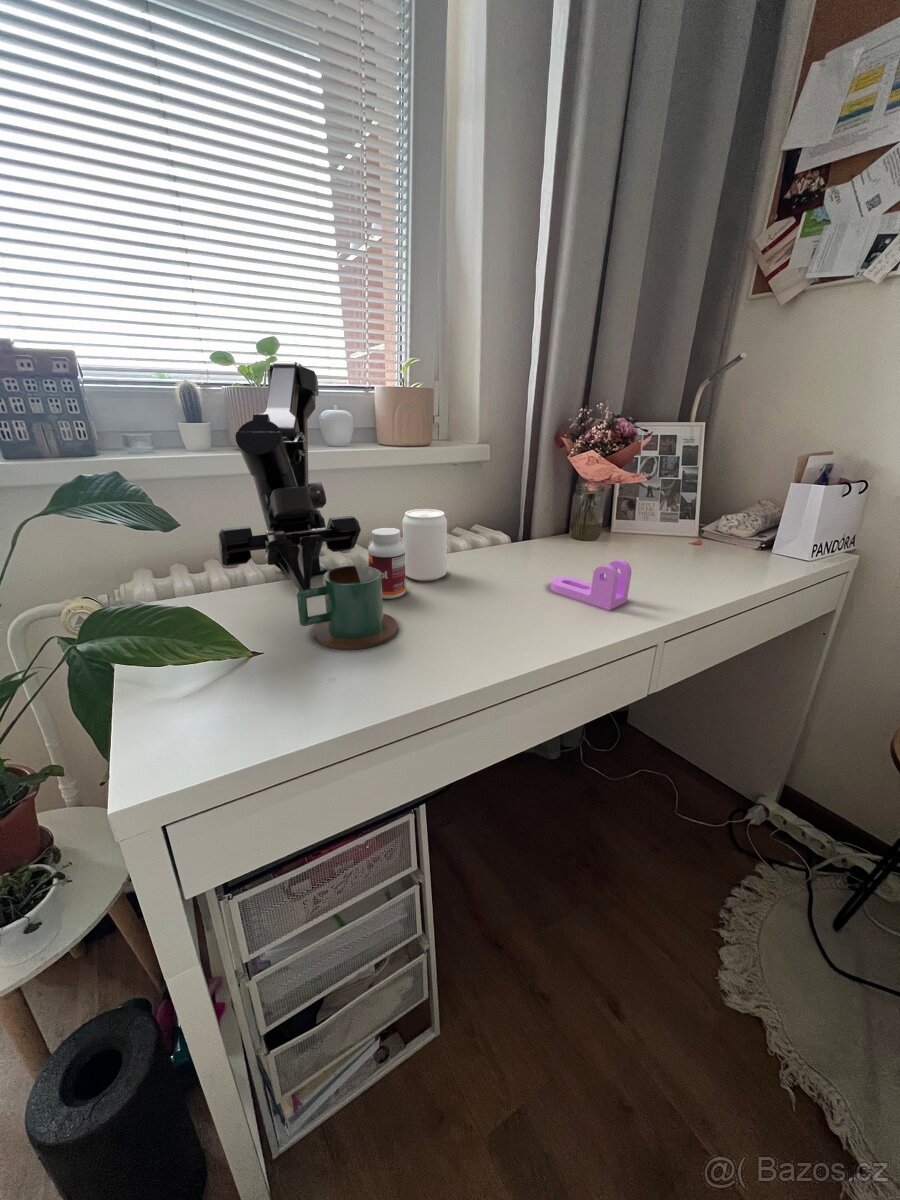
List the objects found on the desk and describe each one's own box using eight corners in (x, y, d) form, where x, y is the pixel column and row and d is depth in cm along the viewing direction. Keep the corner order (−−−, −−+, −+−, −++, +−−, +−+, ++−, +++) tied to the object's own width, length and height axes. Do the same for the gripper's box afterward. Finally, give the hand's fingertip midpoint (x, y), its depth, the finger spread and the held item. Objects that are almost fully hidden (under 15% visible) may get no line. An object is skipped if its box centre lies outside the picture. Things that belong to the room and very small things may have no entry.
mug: (371, 611, 78) (368, 562, 75) (392, 631, 72) (390, 578, 69) (294, 627, 72) (287, 574, 69) (309, 650, 66) (303, 593, 63)
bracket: (626, 601, 85) (633, 562, 82) (609, 610, 81) (615, 569, 79) (562, 581, 93) (566, 545, 91) (544, 588, 90) (547, 551, 87)
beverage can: (448, 569, 99) (449, 509, 95) (443, 583, 92) (444, 518, 87) (407, 567, 100) (406, 507, 95) (400, 581, 93) (398, 517, 88)
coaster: (297, 630, 73) (297, 627, 73) (363, 607, 81) (363, 604, 81) (347, 658, 65) (347, 654, 65) (414, 629, 74) (414, 626, 73)
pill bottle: (362, 593, 87) (358, 531, 83) (388, 584, 91) (386, 524, 87) (387, 602, 83) (384, 537, 79) (413, 592, 87) (412, 530, 83)
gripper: (207, 465, 62) (232, 576, 57) (352, 458, 71) (385, 554, 66) (211, 516, 71) (233, 614, 67) (339, 504, 80) (367, 591, 75)
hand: (306, 593), depth 68 cm, fingers closed, pressing on mug
